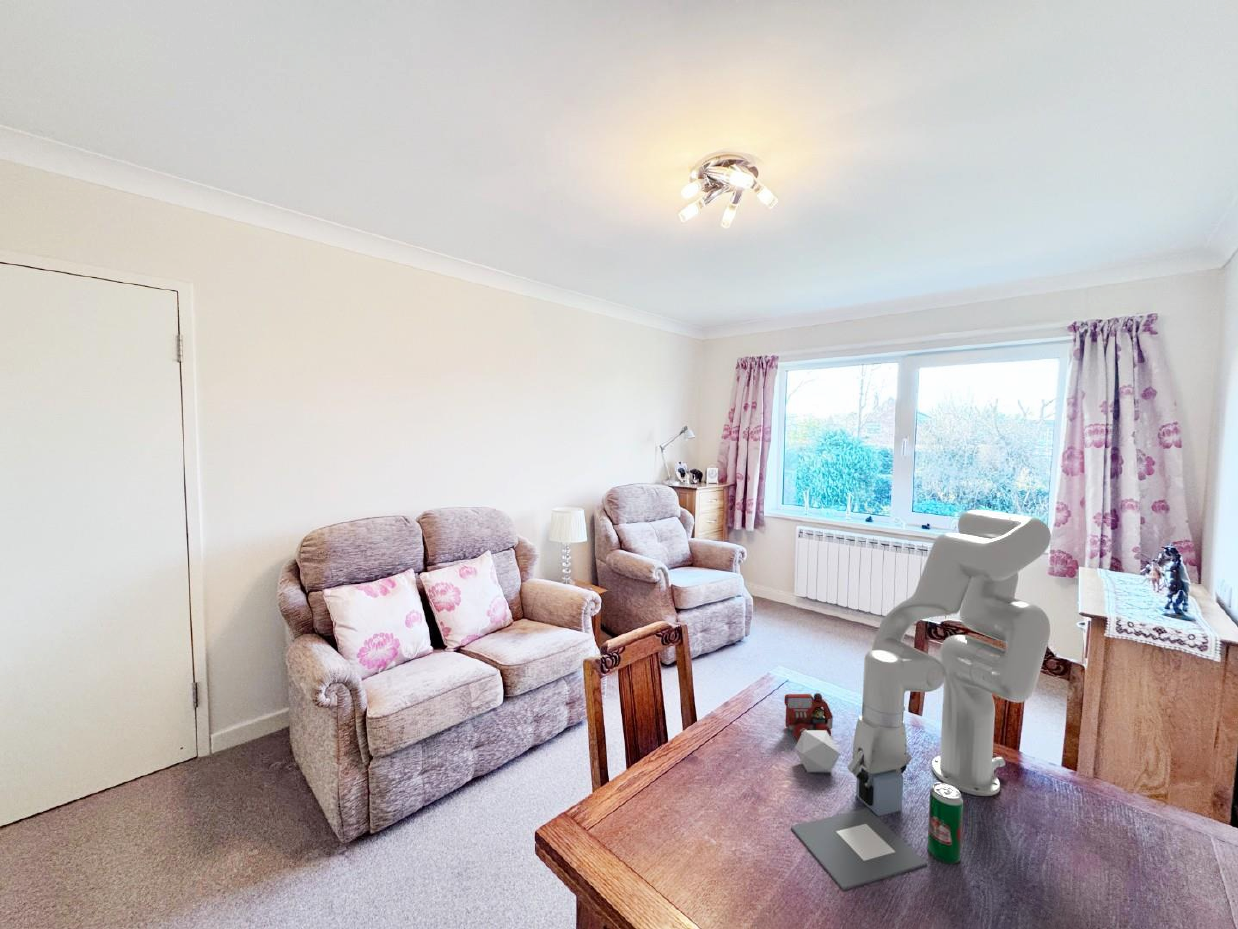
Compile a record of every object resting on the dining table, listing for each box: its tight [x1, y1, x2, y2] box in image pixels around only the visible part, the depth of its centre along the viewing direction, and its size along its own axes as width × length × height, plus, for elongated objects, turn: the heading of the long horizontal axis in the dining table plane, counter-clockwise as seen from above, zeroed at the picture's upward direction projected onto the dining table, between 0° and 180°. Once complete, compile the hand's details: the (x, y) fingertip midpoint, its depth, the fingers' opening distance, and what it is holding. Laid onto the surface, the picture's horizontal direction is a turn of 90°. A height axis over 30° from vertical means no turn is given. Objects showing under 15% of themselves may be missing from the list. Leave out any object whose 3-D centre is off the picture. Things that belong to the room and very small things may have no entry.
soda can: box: [926, 782, 964, 864], centre depth 92 cm, size 5×5×12 cm
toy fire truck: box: [784, 692, 834, 741], centre depth 129 cm, size 7×12×10 cm, turn 94°
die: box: [794, 730, 841, 773], centre depth 116 cm, size 8×9×10 cm
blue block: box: [855, 770, 904, 817], centre depth 105 cm, size 6×6×7 cm
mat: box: [790, 807, 928, 891], centre depth 94 cm, size 18×14×1 cm
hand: (878, 797), depth 105 cm, fingers closed on blue block, 6 cm apart
